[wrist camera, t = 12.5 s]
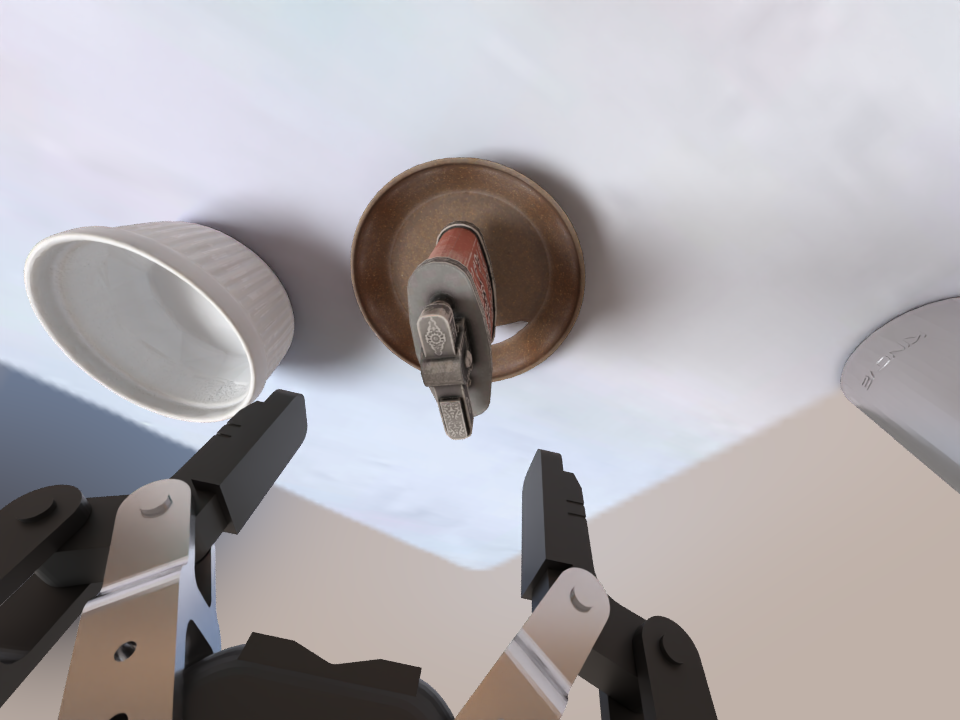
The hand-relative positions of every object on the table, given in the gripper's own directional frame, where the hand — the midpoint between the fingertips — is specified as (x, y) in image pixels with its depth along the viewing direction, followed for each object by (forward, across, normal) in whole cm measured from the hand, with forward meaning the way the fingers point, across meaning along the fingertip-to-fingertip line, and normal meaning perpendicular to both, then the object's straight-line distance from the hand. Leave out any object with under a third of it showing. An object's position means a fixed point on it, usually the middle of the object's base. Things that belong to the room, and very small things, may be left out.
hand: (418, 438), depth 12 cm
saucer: (+15, 0, 0) cm, 15 cm away
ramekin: (+15, +18, +6) cm, 24 cm away
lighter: (+12, 0, 0) cm, 13 cm away
